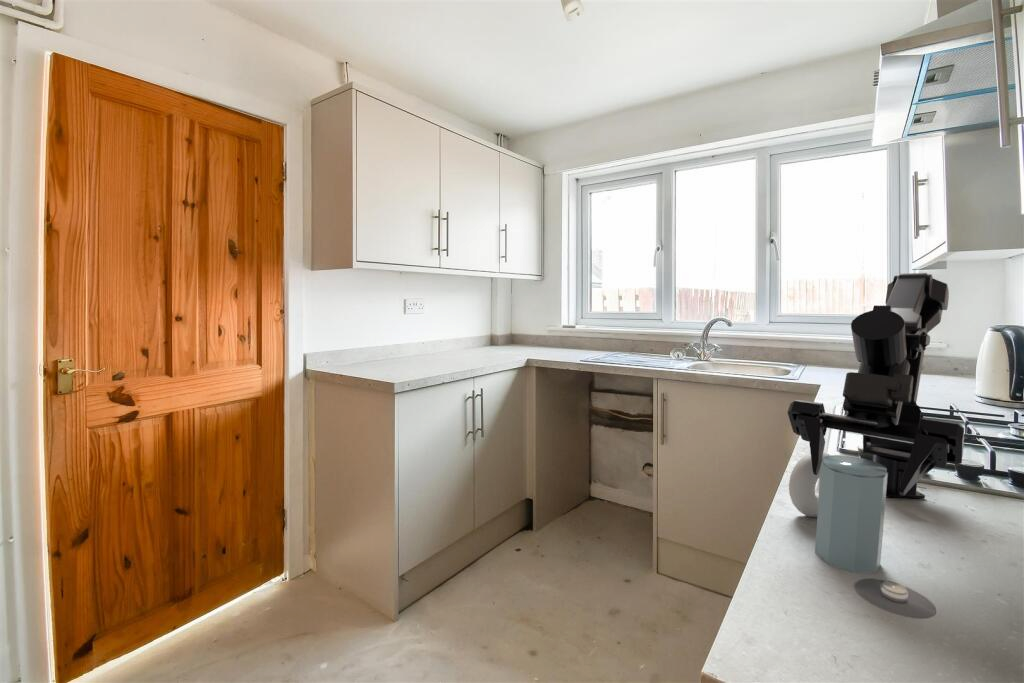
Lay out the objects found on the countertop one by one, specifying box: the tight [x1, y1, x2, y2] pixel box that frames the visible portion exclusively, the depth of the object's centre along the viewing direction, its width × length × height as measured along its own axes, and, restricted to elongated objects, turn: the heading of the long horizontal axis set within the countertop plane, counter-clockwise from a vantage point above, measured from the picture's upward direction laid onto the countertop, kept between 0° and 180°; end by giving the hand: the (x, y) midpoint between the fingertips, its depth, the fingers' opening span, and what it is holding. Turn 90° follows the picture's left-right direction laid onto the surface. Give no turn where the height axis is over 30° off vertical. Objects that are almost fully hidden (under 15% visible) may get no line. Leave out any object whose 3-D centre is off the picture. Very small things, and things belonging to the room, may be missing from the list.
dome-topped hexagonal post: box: [814, 454, 888, 574], centre depth 60 cm, size 6×6×13 cm
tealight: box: [880, 580, 908, 604], centre depth 53 cm, size 2×2×1 cm
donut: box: [788, 451, 831, 518], centre depth 73 cm, size 10×3×10 cm, turn 112°
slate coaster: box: [854, 578, 937, 619], centre depth 53 cm, size 7×7×1 cm
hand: (855, 482), depth 61 cm, fingers open, 9 cm apart
